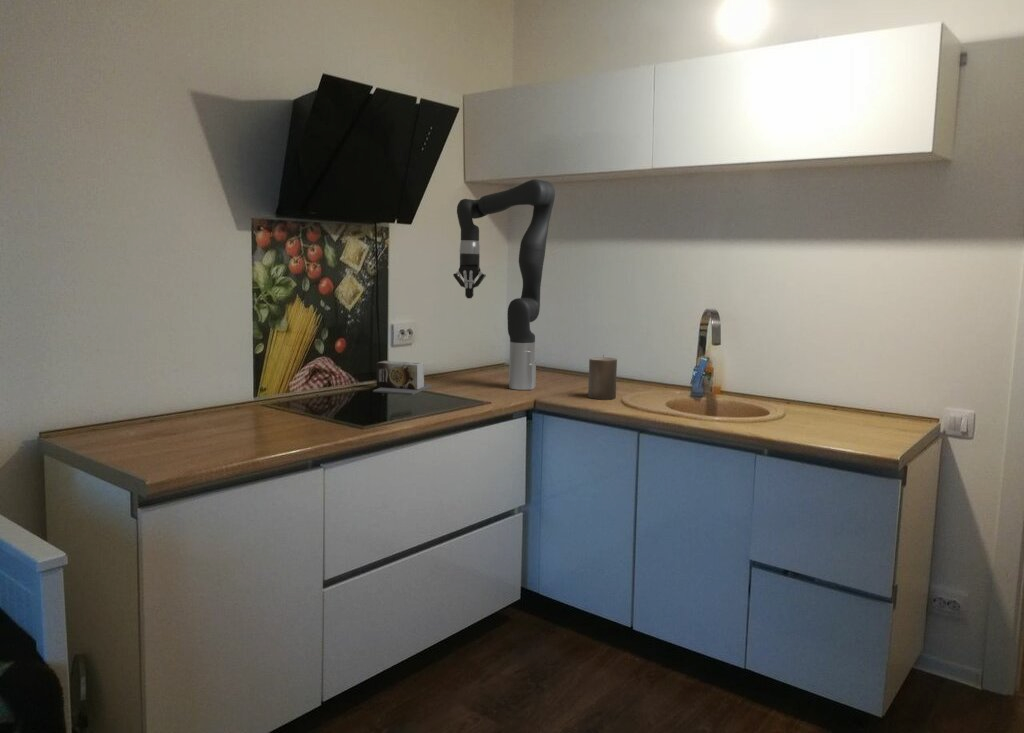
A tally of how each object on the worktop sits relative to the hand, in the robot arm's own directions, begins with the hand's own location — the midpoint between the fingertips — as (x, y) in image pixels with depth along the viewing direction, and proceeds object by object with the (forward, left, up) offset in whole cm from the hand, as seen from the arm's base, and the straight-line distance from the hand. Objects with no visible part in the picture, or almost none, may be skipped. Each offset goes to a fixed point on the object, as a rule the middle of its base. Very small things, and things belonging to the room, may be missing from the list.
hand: (469, 298), depth 291 cm
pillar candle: (-55, +18, -32) cm, 66 cm away
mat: (+16, +28, -32) cm, 45 cm away
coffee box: (+8, +28, -27) cm, 40 cm away
